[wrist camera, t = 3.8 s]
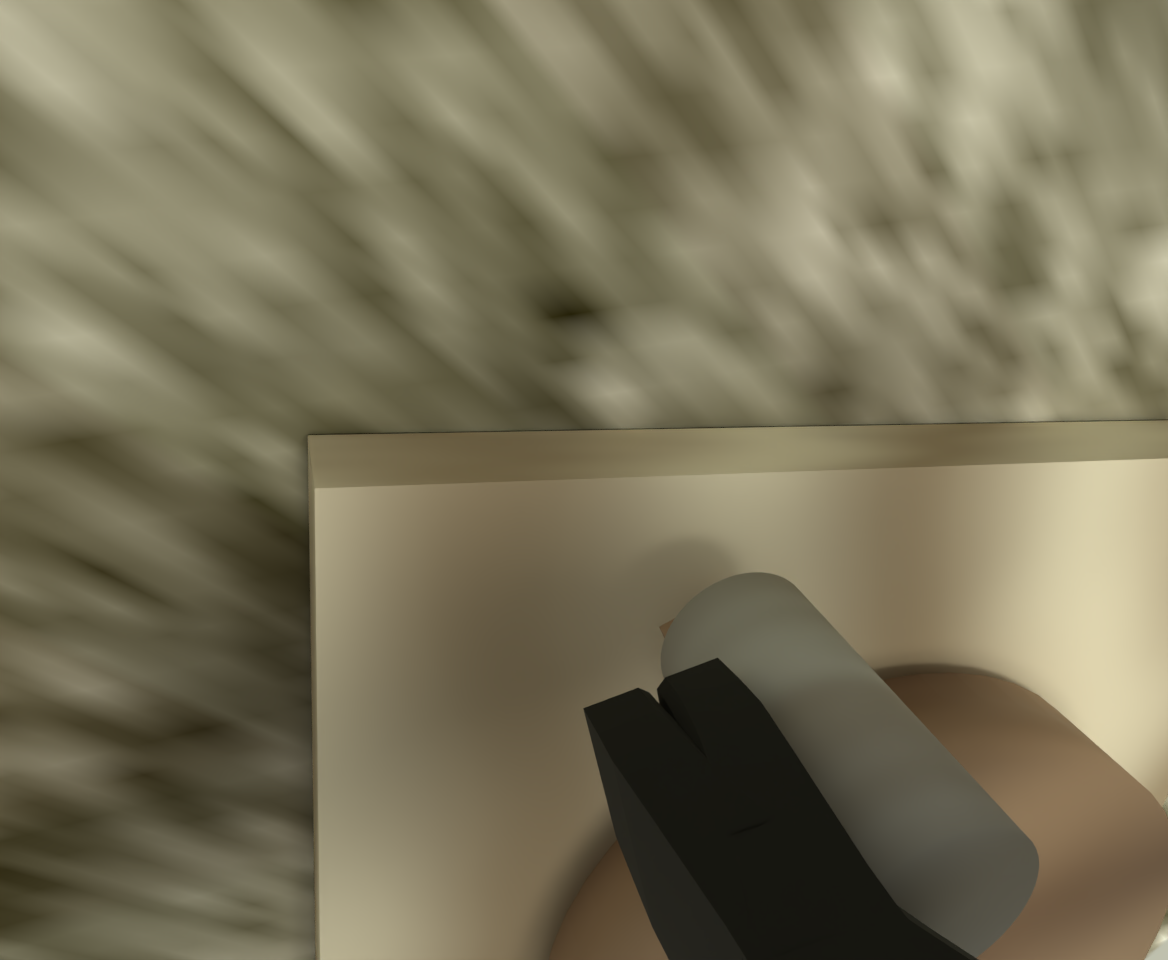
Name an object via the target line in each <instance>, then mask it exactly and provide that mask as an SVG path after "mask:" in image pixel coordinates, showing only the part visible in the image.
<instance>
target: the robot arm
mask: <svg viewBox="0 0 1168 960" xmlns="http://www.w3.org/2000/svg"><path fill="white" fill-rule="evenodd" d="M657 694H658V699H659V703H658V702H657V700H656V699H655V698H654V697H653V696H652V695H651V694H650V692H647V691H645V690H643V689H640V688H636V689H633V690H630V691H628V692H625V693H622V694H620V695H617V696H614V697H612V698H609V699H607V700H604V701H601V702H599V703H596V704H593V705H591V706H588V707H585V708H583V710H584V713H585V717H586V721H587V725H588V729H589V733H590V737H591V741H592V745H593V749H594V753H595V757H596V761H597V764H598V768H599V772H600V776H601V780H602V784H603V788H604V792H605V796H606V800H607V804H608V808H609V812H610V815H611V819H612V823H613V827H614V831H615V835H616V838H617V841H618V843H619V846H620V848H621V851H622V853H623V856H624V858H625V861H626V863H627V866H628V868H629V871H630V873H631V876H632V878H633V881H634V883H635V886H636V888H637V891H638V893H639V896H640V898H641V901H642V903H643V906H644V908H645V911H646V913H647V915H648V918H649V920H650V923H651V925H652V928H653V930H654V932H655V934H656V936H657V938H658V940H659V941H660V943H661V945H662V947H663V949H664V951H665V953H666V955H667V957H668V959H669V960H978V959H977V958H975V957H974V956H972V955H971V954H969V953H968V952H966V951H965V950H963V949H961V948H960V947H958V946H957V945H955V944H954V943H952V942H951V941H949V940H948V939H946V938H945V937H943V936H942V935H940V934H938V933H937V932H935V931H934V930H932V929H931V928H929V927H928V926H927V925H925V924H924V923H922V922H921V921H919V920H918V919H916V918H915V917H913V916H912V915H911V914H909V913H908V912H906V911H905V910H903V909H902V908H901V907H899V906H898V905H897V904H896V903H895V902H894V900H893V899H892V897H891V896H890V895H889V893H888V892H887V890H886V889H885V888H884V886H883V885H882V884H881V882H880V881H879V879H878V878H877V877H876V875H875V874H874V873H873V871H872V870H871V868H870V867H869V866H868V864H867V863H866V861H865V860H864V858H863V857H862V855H861V853H860V852H859V850H858V849H857V847H856V846H855V844H854V843H853V841H852V840H851V838H850V837H849V835H848V833H847V832H846V830H845V829H844V827H843V826H842V824H841V823H840V821H839V820H838V818H837V817H836V815H835V813H834V812H833V810H832V809H831V807H830V806H829V804H828V803H827V801H826V800H825V798H824V797H823V795H822V793H821V792H820V790H819V789H818V787H817V786H816V784H815V783H814V781H813V780H812V778H811V777H810V775H809V773H808V772H807V770H806V769H805V767H804V766H803V764H802V763H801V761H800V760H799V758H798V756H797V755H796V753H795V752H794V750H793V749H792V747H791V746H790V744H789V743H788V741H787V740H786V738H785V737H784V735H783V734H782V732H781V731H780V729H779V728H778V726H777V725H776V723H775V722H774V720H773V719H772V717H771V716H770V714H769V713H768V711H767V710H766V708H765V707H764V705H763V704H762V702H761V701H760V700H759V699H758V698H757V697H756V696H755V695H754V694H753V693H752V691H751V690H750V689H749V688H748V687H747V686H746V685H745V684H744V683H743V682H742V681H741V680H740V679H739V678H738V677H737V676H736V675H735V674H734V673H733V672H732V671H731V670H730V669H729V668H728V667H727V666H726V665H725V664H724V663H723V662H722V661H721V660H720V659H719V658H715V659H712V660H710V661H707V662H705V663H702V664H699V665H697V666H694V667H691V668H689V669H686V670H683V671H681V672H678V673H675V674H673V675H670V676H667V677H665V678H664V680H663V681H662V682H661V684H660V685H659V687H658V688H657Z"/></svg>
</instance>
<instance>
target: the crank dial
mask: <svg viewBox="0 0 1168 960" xmlns="http://www.w3.org/2000/svg"><path fill="white" fill-rule="evenodd" d="M659 628H660V630H661V632H662V634H663V637H664V642H663V645H662V650H661V669H662V674H663V677H664V678H665V677H667V676H670V675H673V674H675V673H678V672H681V671H683V670H686V669H689V668H691V667H694V666H697V665H699V664H702V663H705V662H707V661H710V660H712V659H715V658H719V659H720V660H721V661H722V662H723V663H724V664H725V665H726V666H727V667H728V668H729V669H730V670H731V671H732V672H733V673H734V674H735V675H736V676H737V677H738V678H739V679H740V680H741V681H742V682H743V683H744V684H745V685H746V686H747V687H748V688H749V689H750V690H751V691H752V693H753V694H754V695H755V696H756V697H757V698H758V699H759V700H760V701H761V702H762V704H763V705H764V707H765V708H766V710H767V711H768V713H769V714H770V716H771V717H772V719H773V720H774V722H775V723H776V725H777V726H778V728H779V729H780V731H781V732H782V734H783V735H784V737H785V738H786V740H787V741H788V743H789V744H790V746H791V747H792V749H793V750H794V752H795V753H796V755H797V756H798V758H799V760H800V761H801V763H802V764H803V766H804V767H805V769H806V770H807V772H808V773H809V775H810V777H811V778H812V780H813V781H814V783H815V784H816V786H817V787H818V789H819V790H820V792H821V793H822V795H823V797H824V798H825V800H826V801H827V803H828V804H829V806H830V807H831V809H832V810H833V812H834V813H835V815H836V817H837V818H838V820H839V821H840V823H841V824H842V826H843V827H844V829H845V830H846V832H847V833H848V835H849V837H850V838H851V840H852V841H853V843H854V844H855V846H856V847H857V849H858V850H859V852H860V853H861V855H862V857H863V858H864V860H865V861H866V863H867V864H868V866H869V867H870V868H871V870H872V871H873V873H874V874H875V875H876V877H877V878H878V879H879V881H880V882H881V884H882V885H883V886H884V888H885V889H886V890H887V892H888V893H889V895H890V896H891V897H892V899H893V900H894V902H895V903H896V904H897V905H898V906H899V907H901V908H902V909H903V910H905V911H906V912H908V913H909V914H911V915H912V916H913V917H915V918H916V919H918V920H919V921H921V922H922V923H924V924H925V925H927V926H928V927H929V928H931V929H932V930H934V931H935V932H937V933H938V934H940V935H942V936H943V937H945V938H946V939H948V940H949V941H951V942H952V943H954V944H955V945H957V946H958V947H960V948H961V949H963V950H965V951H966V952H968V953H969V954H971V955H972V956H974V957H975V958H977V959H978V960H1144V959H1145V957H1146V955H1147V953H1148V951H1149V949H1150V947H1151V945H1152V943H1153V941H1154V939H1155V937H1156V935H1157V933H1158V931H1159V929H1160V927H1161V924H1162V921H1163V919H1164V916H1165V913H1166V911H1167V908H1168V818H1167V815H1166V813H1165V811H1164V809H1163V808H1162V807H1161V805H1160V804H1159V803H1158V801H1157V800H1156V799H1155V797H1154V796H1153V795H1152V793H1151V792H1150V791H1148V790H1147V789H1146V788H1145V787H1144V786H1143V785H1142V784H1141V783H1139V782H1138V781H1137V780H1136V779H1135V778H1134V777H1133V776H1131V775H1130V774H1129V773H1128V772H1127V771H1126V770H1125V769H1124V768H1122V767H1121V766H1120V765H1119V764H1118V763H1117V762H1116V761H1114V760H1113V759H1112V758H1111V757H1110V756H1109V755H1108V754H1107V753H1105V752H1104V751H1103V750H1102V749H1101V748H1100V747H1099V746H1097V745H1096V744H1095V743H1094V742H1093V741H1092V740H1091V739H1090V738H1088V737H1087V736H1086V735H1085V734H1084V733H1083V732H1082V731H1081V730H1079V729H1078V728H1077V727H1076V726H1075V725H1074V724H1073V723H1071V722H1070V721H1069V720H1068V719H1067V718H1066V717H1065V716H1064V715H1062V714H1061V713H1060V712H1059V711H1058V710H1057V709H1055V708H1054V707H1053V706H1052V705H1050V704H1049V703H1048V702H1047V701H1045V700H1044V699H1043V698H1042V697H1040V696H1039V695H1037V694H1035V693H1033V692H1031V691H1029V690H1027V689H1025V688H1023V687H1021V686H1019V685H1017V684H1015V683H1011V682H1008V681H1004V680H1000V679H996V678H993V677H989V676H983V675H973V674H963V673H932V674H916V675H910V676H904V677H897V678H891V679H885V680H882V679H881V678H880V677H879V676H878V675H877V673H876V672H875V671H874V670H873V669H872V668H871V667H870V666H869V665H868V664H867V663H866V662H865V660H864V659H863V658H862V657H861V656H860V655H859V654H858V653H857V652H856V651H855V650H854V649H853V648H852V646H851V645H850V644H849V643H848V642H847V641H846V640H845V639H844V638H843V637H842V636H841V635H840V633H839V632H838V631H837V630H836V629H835V628H834V627H833V626H832V625H831V624H830V623H829V622H828V621H827V619H826V618H825V617H824V616H823V615H822V614H821V613H820V612H819V611H818V610H817V609H816V608H815V606H814V605H813V604H812V603H811V602H810V601H809V600H808V599H807V598H806V597H805V596H804V595H803V594H802V592H801V591H800V590H799V589H798V588H797V587H796V586H795V585H794V584H793V583H791V582H790V581H788V580H787V579H785V578H783V577H781V576H778V575H775V574H771V573H764V572H751V573H743V574H739V575H734V576H731V577H728V578H726V579H723V580H721V581H719V582H717V583H714V584H713V585H711V586H709V587H708V588H706V589H704V590H703V591H701V592H700V593H699V594H698V595H696V596H695V597H694V598H693V599H692V600H690V601H689V602H688V603H687V604H686V605H685V606H684V608H683V609H682V610H681V611H680V612H679V613H678V615H677V616H676V618H674V619H672V620H671V621H669V622H667V623H665V624H663V625H661V626H660V627H659ZM549 960H669V959H668V957H667V955H666V953H665V951H664V949H663V947H662V945H661V943H660V941H659V940H658V938H657V936H656V934H655V932H654V930H653V928H652V925H651V923H650V920H649V918H648V915H647V913H646V911H645V908H644V906H643V903H642V901H641V898H640V896H639V893H638V891H637V888H636V886H635V883H634V881H633V878H632V876H631V873H630V871H629V868H628V866H627V863H626V861H625V858H624V856H623V853H622V851H621V848H620V846H619V843H618V841H617V840H616V841H615V843H614V844H613V845H612V846H611V847H610V848H609V850H608V851H607V852H606V854H605V855H604V856H603V858H602V859H601V860H600V862H599V863H598V864H597V866H596V867H595V868H594V870H593V871H592V872H591V874H590V875H589V876H588V878H587V879H586V880H585V882H584V884H583V886H582V887H581V889H580V891H579V892H578V894H577V896H576V897H575V899H574V901H573V903H572V904H571V906H570V908H569V909H568V911H567V913H566V915H565V917H564V920H563V922H562V924H561V927H560V929H559V931H558V934H557V936H556V939H555V941H554V943H553V946H552V950H551V953H550V957H549Z"/></svg>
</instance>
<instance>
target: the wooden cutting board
mask: <svg viewBox="0 0 1168 960" xmlns="http://www.w3.org/2000/svg"><path fill="white" fill-rule="evenodd" d="M308 491H309V558H310V625H311V692H312V759H313V826H314V894H315V960H549V957H550V953H551V950H552V946H553V943H554V941H555V939H556V936H557V934H558V931H559V929H560V927H561V924H562V922H563V920H564V917H565V915H566V913H567V911H568V909H569V908H570V906H571V904H572V903H573V901H574V899H575V897H576V896H577V894H578V892H579V891H580V889H581V887H582V886H583V884H584V882H585V880H586V879H587V878H588V876H589V875H590V874H591V872H592V871H593V870H594V868H595V867H596V866H597V864H598V863H599V862H600V860H601V859H602V858H603V856H604V855H605V854H606V852H607V851H608V850H609V848H610V847H611V846H612V845H613V844H614V843H615V841H616V840H617V838H616V835H615V831H614V827H613V823H612V819H611V815H610V812H609V808H608V804H607V800H606V796H605V792H604V788H603V784H602V780H601V776H600V772H599V768H598V764H597V761H596V757H595V753H594V749H593V745H592V741H591V737H590V733H589V729H588V725H587V721H586V717H585V713H584V710H583V708H585V707H588V706H591V705H593V704H596V703H599V702H601V701H604V700H607V699H609V698H612V697H614V696H617V695H620V694H622V693H625V692H628V691H630V690H633V689H636V688H640V689H643V690H645V691H647V692H650V694H651V695H652V696H653V697H654V698H655V699H656V700H657V702H658V703H659V699H658V694H657V688H658V687H659V685H660V684H661V682H662V681H663V680H664V677H663V674H662V669H661V650H662V645H663V642H664V637H663V634H662V632H661V630H660V628H659V627H660V626H661V625H663V624H665V623H667V622H669V621H671V620H672V619H674V618H676V616H677V615H678V613H679V612H680V611H681V610H682V609H683V608H684V606H685V605H686V604H687V603H688V602H689V601H690V600H692V599H693V598H694V597H695V596H696V595H698V594H699V593H700V592H701V591H703V590H704V589H706V588H708V587H709V586H711V585H713V584H714V583H717V582H719V581H721V580H723V579H726V578H728V577H731V576H734V575H739V574H743V573H751V572H764V573H771V574H775V575H778V576H781V577H783V578H785V579H787V580H788V581H790V582H791V583H793V584H794V585H795V586H796V587H797V588H798V589H799V590H800V591H801V592H802V594H803V595H804V596H805V597H806V598H807V599H808V600H809V601H810V602H811V603H812V604H813V605H814V606H815V608H816V609H817V610H818V611H819V612H820V613H821V614H822V615H823V616H824V617H825V618H826V619H827V621H828V622H829V623H830V624H831V625H832V626H833V627H834V628H835V629H836V630H837V631H838V632H839V633H840V635H841V636H842V637H843V638H844V639H845V640H846V641H847V642H848V643H849V644H850V645H851V646H852V648H853V649H854V650H855V651H856V652H857V653H858V654H859V655H860V656H861V657H862V658H863V659H864V660H865V662H866V663H867V664H868V665H869V666H870V667H871V668H872V669H873V670H874V671H875V672H876V673H877V675H878V676H879V677H880V678H881V679H882V680H885V679H891V678H897V677H904V676H910V675H916V674H932V673H963V674H973V675H983V676H989V677H993V678H996V679H1000V680H1004V681H1008V682H1011V683H1015V684H1017V685H1019V686H1021V687H1023V688H1025V689H1027V690H1029V691H1031V692H1033V693H1035V694H1037V695H1039V696H1040V697H1042V698H1043V699H1044V700H1045V701H1047V702H1048V703H1049V704H1050V705H1052V706H1053V707H1054V708H1055V709H1057V710H1058V711H1059V712H1060V713H1061V714H1062V715H1064V716H1065V717H1066V718H1067V719H1068V720H1069V721H1070V722H1071V723H1073V724H1074V725H1075V726H1076V727H1077V728H1078V729H1079V730H1081V731H1082V732H1083V733H1084V734H1085V735H1086V736H1087V737H1088V738H1090V739H1091V740H1092V741H1093V742H1094V743H1095V744H1096V745H1097V746H1099V747H1100V748H1101V749H1102V750H1103V751H1104V752H1105V753H1107V754H1108V755H1109V756H1110V757H1111V758H1112V759H1113V760H1114V761H1116V762H1117V763H1118V764H1119V765H1120V766H1121V767H1122V768H1124V769H1125V770H1126V771H1127V772H1128V773H1129V774H1130V775H1131V776H1133V777H1134V778H1135V779H1136V780H1137V781H1138V782H1139V783H1141V784H1142V785H1143V786H1144V787H1145V788H1146V789H1147V790H1148V791H1150V792H1151V793H1152V795H1153V796H1154V797H1155V799H1156V800H1157V801H1158V803H1159V804H1160V805H1161V807H1162V806H1163V804H1164V802H1165V800H1166V798H1167V796H1168V420H1155V421H1097V422H1039V423H982V424H924V425H866V426H809V427H751V428H694V429H636V430H578V431H521V432H463V433H405V434H348V435H308Z"/></svg>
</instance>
